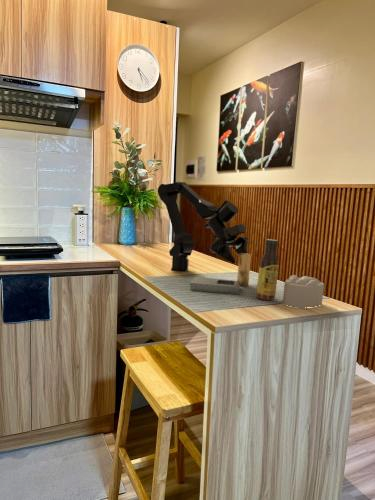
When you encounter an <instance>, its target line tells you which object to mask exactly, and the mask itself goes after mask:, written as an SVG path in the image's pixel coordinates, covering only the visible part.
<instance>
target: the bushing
mask: <svg viewBox="0 0 375 500" xmlns="http://www.w3.org/2000/svg"><path fill="white" fill-rule="evenodd" d="M247 253H248V252H247ZM247 253H239V254H238V265H237V266H238V267H237V278H236V281H240V287H244V288H245V287H249V283H250V271H251V261H252V254H251V253H248V254H247Z"/></svg>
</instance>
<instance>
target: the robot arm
mask: <svg viewBox="0 0 375 500" xmlns="http://www.w3.org/2000/svg"><path fill="white" fill-rule="evenodd" d="M179 194H180V195H181V196H182V197H183V198H185V200H187V202H189V203H190V205H192V206H193V207H194V208H195V212H196V214H197V215H198V216H199V218H200V219H203V220H205V219H207V220H208V219H209V220H208V221H205V223H204V229H210V230H211V231H212V232H213V234H214V236H213V238H214V239H215V241H214V242H213V243H211V245H210V249H209V250H210V251H211V253H212V254H215V255H218V256H220V257H221V258H223V259H225V260H226V261H228V262H230V263H232V264H234V265H235V264H236V262H237V261H236V260H235V257H234V256H233V254H232V252H231V250H230V247H231V248H233V249H234V250H235V251H234V252H235V253H236V254H238V255H239V253H247V254H249V253H248V250H247V249H248V247H247V246H248V244H249V242H250V239H249V238H248V237H247V236H239V235H242V234H245V233H246V231H247V230H246V229H247V227H246V226H245V224H243V223H239V224H237V225H233V226H231V227H230V226H227V224H226V223H230V221H232V219H233V218H235V216H237V215H238V213H239V209H238V206H237V205H235V204H234V203H232V202H230V201H229V200H224V201H223V202H222V204H221V206H220V207H219V208H218V207H217V206H216V205H215V204H214V203H211V201H208V200H205V199H203V198H202V197H201V196H200V195H199V194H198V193H197V192H196V191H194V189H192V188H191V187H190V186H189V185H188V184H187V183H186V182H185V181H175V182H172V183H161V184H160V185H159V186H158V188H157V195H158V197H159V199H160V201H162V203H163V204H164V205H165V207H166V210H167V214H168V217H169V221H170V224H171V227H172V230H173V235H174V237H173V246H172V247H171V248H170V250H168V252H169V256H171V257H172V260H171V261H172V262H171V267H170V268H171V269H170V270H171V271H180V272H186V271H187V270H188V269H189V266H190V265H189V264H190V263H189V261H190V259H189V258H188V257H190V256H191V255H192V252H193V250H194V249H195V241H194V238H193V235H192V234H191V233H189V234H188V233H187V232H186V229H185V225H184V223H183V219H182V217H181V213H180V212H181V211H180V208H179V206H178V202H177V200H178V196H179ZM238 236H239V237H238Z"/></svg>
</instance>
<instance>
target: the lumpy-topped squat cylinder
mask: <svg viewBox="0 0 375 500" xmlns="http://www.w3.org/2000/svg"><path fill="white" fill-rule="evenodd" d="M283 285H284V286H283V294H282V295H283V296H282V304H283V303H284V304H285V305H284V304H283V305H284V306H286V305H288V306H292V307H291V308H293V307H300V308H299V309H303V308H305V307H306V308H307V307H315V306H319V305H322V304H323V297H324V288H325V283H323V282H322V281H320V280H319V279H318V278H315V277H310V276H308V275H307V276H306V275H304V276H301V277H298V276H297V275H296V274H293V275H290V276H289V278H287V279H286V280H285V281H284V284H283ZM288 306H287V307H288Z"/></svg>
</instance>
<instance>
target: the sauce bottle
mask: <svg viewBox="0 0 375 500" xmlns="http://www.w3.org/2000/svg"><path fill="white" fill-rule="evenodd" d="M264 243H265V249H264V254H262V256H261V258H260V261H259V267H258V268H259V269H258V275H257V283H256V296H255V297H256V298H257V299H259V300H263V301H272V300H275V295H276V291H277V284H278V283H277V282H278V275H279V268H280V265H279V261H278V255H277V250H278V244H279V240H278V239H271V238H266V239H265V242H264Z"/></svg>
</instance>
